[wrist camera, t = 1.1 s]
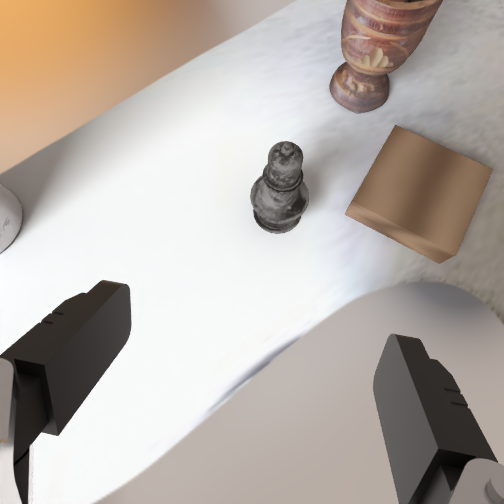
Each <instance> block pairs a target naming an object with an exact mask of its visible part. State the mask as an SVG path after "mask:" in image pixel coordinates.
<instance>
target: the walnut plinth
mask: <svg viewBox="0 0 504 504" xmlns="http://www.w3.org/2000/svg"><path fill="white" fill-rule="evenodd" d="M492 170H493V169H491V168H489V167H487V166H485V165H483V164H480V163H478V162H476V161H474V160H472V159H469V158H467V157H465V156H463V155H461V154H458V153H456V152H454V151H452V150H450V149H447V148H445V147H443V146H441V145H439V144H436V143H434V142H432V141H430V140H428V139H425V138H423V137H421V136H419V135H417V134H414V133H412V132H410V131H408V130H406V129H403V128H401V127H399V126H397V125H395V126H394V128H393V130H392V132H391V133H390V135H389V137H388V138H387V140H386V142H385V144H384V145H383V147H382V149H381V151H380V152H379V154H378V156H377V158H376V160H375V161H374V163H373V165H372V167H371V168H370V170H369V172H368V174H367V175H366V177H365V179H364V181H363V183H362V184H361V186H360V188H359V190H358V191H357V193H356V195H355V197H354V198H353V200H352V202H351V204H350V206H349V207H348V209H347V211H346V213H345V215H347V216H349V217H351V218H353V219H355V220H357V221H359V222H361V223H363V224H364V225H366V226H368V227H370V228H372V229H374V230H376V231H378V232H380V233H382V234H384V235H386V236H388V237H390V238H391V239H393V240H395V241H397V242H399V243H401V244H403V245H405V246H407V247H409V248H411V249H413V250H415V251H417V252H418V253H420V254H422V255H424V256H426V257H428V258H430V259H432V260H434V261H436V262H438V263H442V262H444V261H445V260H447V259H449V258H451V257H453V256H454V255H456V254H457V252H458V249H459V247H460V245H461V242H462V240H463V238H464V235H465V233H466V231H467V228H468V226H469V224H470V221H471V219H472V217H473V214H474V212H475V210H476V207H477V205H478V203H479V200H480V198H481V196H482V193H483V191H484V189H485V186H486V184H487V182H488V180H489V177H490V175H491V173H492Z"/></svg>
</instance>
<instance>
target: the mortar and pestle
mask: <svg viewBox="0 0 504 504" xmlns="http://www.w3.org/2000/svg"><path fill="white" fill-rule="evenodd" d="M442 1H443V0H347V3H346V7H345V10H344V15H343V20H342V29H341V46H342V53H343V56H344V58H345V60H346V62H345V63H343V64H342V65H341V66H340V67H338V69H337V70H336V72H335V73H334V74H333V76H332V79H331V82H330V92H331V95H332V96H333V98H334V99H335V100H336V101H337V102H338V103H339V104H341V105H342V106H344V107H345V108H347V109H349V110H351V111H353V112H355V113H357V114H358V113H361V112H367V111H371V110H374V109H376V108H378V107H379V106H381V105H383V104H384V102H385V101H386V100H387V98H388V93H389V78H388V75H387V74H388V73H390V72H392V71H394V70H396V69H397V68H399V67H400V66H401V65H402V64H403V63H404V62H405V60H406V59H407V58H408V57H409V56H410V55H411V54H412V53H413V51H414V50H415V49H416V47H417V46H418V44H419V43H420V41H421V40H422V38H423V36H424V35H425V32H426V30H427V28H428V26H429V24H430V22H431V21H432V19H433V17H434V15H435V14H436V12H437V10H438V8H439V6H440V5H441V3H442Z"/></svg>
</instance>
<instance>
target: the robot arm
mask: <svg viewBox="0 0 504 504" xmlns="http://www.w3.org/2000/svg"><path fill="white" fill-rule="evenodd" d="M22 213H23V212H22V207H21V204H20V202H19V200H18V198H17V197H16V196H15V195H14V194H13V193H12V192H10V191H9V190H8V189H6V188H5V187H3V186H2V185H1V184H0V252H2V251H3V250H4V249H5V248H6V247H8V246H9V245H10V244H11V242H12V241H13V240H14V238H15V237H16V235H17V233H18V231H19V229H20V227H21V223H22ZM130 331H131V303H130V288H129V286H128V285H127V284H123V283H117V282H112V281H106V280H102V281H100V282H99V283H98V284H97V285H95V286H94V287H93V288H92V289H91V290H90V291H89V292H88V293H80V294H78V295H76V296H74V297H72V298H69V299H67V300H65V301H64V302H63V303H62V304H60V305H59V306H58V307H57V308H56V309H54V310H53V311H52V314H51V313H50V314H48V315H47V316H46V317H45V318H44V319H43V320H42V322H41V323H38V324H37V325H35V326H34V327H33V328H32V329H31V330H29V331H28V332H27V333H26V334H25V335H24V336H22V337H21V338H20V339H19V340H18V341H16V342H15V343H14V344H13V345H12V346H10V347H9V348H8V349H7V350H6V351H5V352H3V353H2V354H1V355H0V504H32V495H33V445H32V443H33V442H34V441H35V439H36V438H37V437H38V435H39V434H40V433H41V432H43V433H47V434H52V435H56V436H59V434H60V433H61V432H62V430H63V429H64V427H65V426H66V425H67V423H68V422H69V421H70V419H71V418H72V416H73V415H74V414H75V412H76V411H77V410H78V408H79V407H80V406H81V404H82V403H83V401H84V400H85V399H86V397H87V396H88V395H89V393H90V392H91V390H92V389H93V388H94V386H95V385H96V384H97V382H98V381H99V380H100V378H101V377H102V375H103V374H104V373H105V371H106V370H107V369H108V367H109V366H110V365H111V363H112V362H113V360H114V359H115V358H116V356H117V355H118V354H119V352H120V351H121V349H122V348H123V347H124V345H125V344H126V342H127V340H128V338H129V335H130ZM373 390H374V397H375V401H376V405H377V410H378V414H379V419H380V423H381V427H382V432H383V436H384V440H385V444H386V449H387V453H388V457H389V462H390V466H391V471H392V475H393V479H394V484H395V488H396V492H397V497H398V501H399V504H504V466H503V465H501V464H499V463H498V461H497V459H496V457H495V456H494V454H493V452H492V450H491V448H490V446H489V444H488V443H487V440H486V439H485V437H484V435H483V433H482V431H481V429H480V427H479V425H478V423H477V421H476V420H475V418H474V416H473V414H472V412H471V410H470V409H469V408H468V404H467V403H466V401H465V399H464V397H463V395H462V394H460V389H459V387H458V385H457V384H456V382H455V380H454V378H453V376H452V375H451V374H450V373H449V372H448V371H447V370H446V368H444V366H442V364H441V363H440V362H439V361H438V360H434V359H430V358H429V356H428V354H427V352H426V350H425V348H424V346H423V343H422V342H421V340H420V339H418V338H413V337H407V336H402V335H397V334H391V335H390V336H389V337H388V340H387V342H386V344H385V347H384V350H383V353H382V355H381V358H380V361H379V364H378V366H377V369H376V372H375V375H374V383H373Z"/></svg>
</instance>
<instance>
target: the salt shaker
mask: <svg viewBox="0 0 504 504" xmlns="http://www.w3.org/2000/svg"><path fill="white" fill-rule="evenodd" d="M302 162H303V153H302V151H301V149H300V148H299V146H298V145H296V144H294V143H292V142H288V141H284V142H279V143H277V144H275V145H274V146H273V147H272V148H271V150H270V152H269V155H268V164H267V165H266V166H265V168H264V170H263V175H262V176H261V177H260V178H258V180H257V181H256V182H255V183H254V185H253V187H252V189H251V195H250V197H251V203H252V206H253V208H254V210H253V212H254V218H255V220H256V222H257V224H258V225H259V226H260V227H261V228H263V229H264V230H265V231H268V232H270V233H276V234H280V233H285V232H288V231H290V230H292V229H293V228H294V227H295V226H296V225H297V224H298V223H299V220H300V218H301V215H302V214H303V212H304V211H305V210H306V208H307V205H308V202H309V194H308V189H307V187H306V185H305V183H304V182H303V172H302V170H301V166H302Z"/></svg>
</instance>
